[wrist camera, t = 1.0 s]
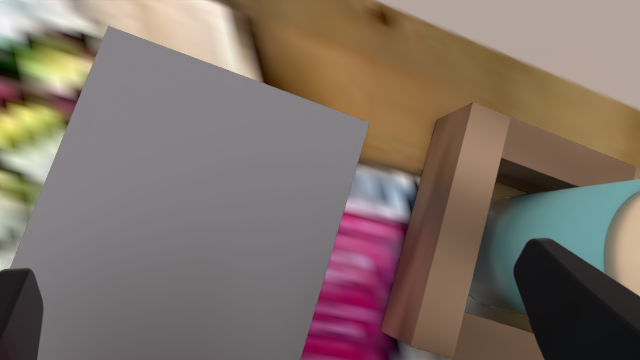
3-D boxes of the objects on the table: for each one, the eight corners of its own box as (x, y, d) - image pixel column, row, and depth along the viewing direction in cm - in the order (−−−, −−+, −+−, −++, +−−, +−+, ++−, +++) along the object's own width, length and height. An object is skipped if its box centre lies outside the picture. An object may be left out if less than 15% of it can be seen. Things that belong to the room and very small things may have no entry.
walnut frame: (572, 386, 25) (629, 409, 22) (380, 330, 23) (410, 346, 20) (610, 187, 27) (669, 179, 24) (436, 120, 25) (473, 102, 22)
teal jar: (570, 275, 26) (787, 298, 16) (486, 331, 25) (670, 392, 15) (521, 179, 26) (710, 144, 16) (434, 230, 25) (585, 224, 15)
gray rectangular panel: (112, 35, 22) (108, 25, 21) (362, 127, 24) (369, 122, 23) (-83, 518, 19) (-98, 534, 18) (231, 575, 21) (232, 591, 20)
